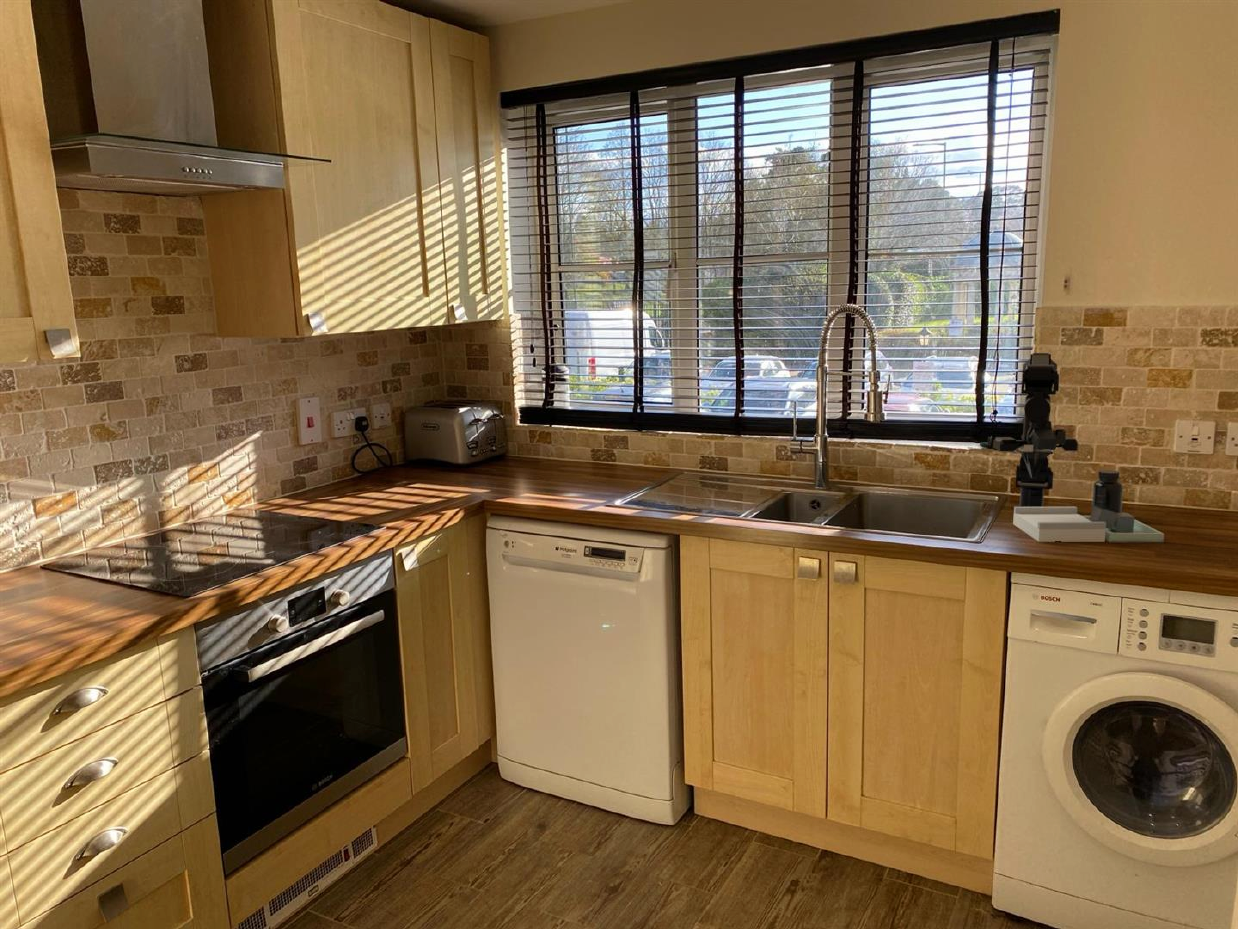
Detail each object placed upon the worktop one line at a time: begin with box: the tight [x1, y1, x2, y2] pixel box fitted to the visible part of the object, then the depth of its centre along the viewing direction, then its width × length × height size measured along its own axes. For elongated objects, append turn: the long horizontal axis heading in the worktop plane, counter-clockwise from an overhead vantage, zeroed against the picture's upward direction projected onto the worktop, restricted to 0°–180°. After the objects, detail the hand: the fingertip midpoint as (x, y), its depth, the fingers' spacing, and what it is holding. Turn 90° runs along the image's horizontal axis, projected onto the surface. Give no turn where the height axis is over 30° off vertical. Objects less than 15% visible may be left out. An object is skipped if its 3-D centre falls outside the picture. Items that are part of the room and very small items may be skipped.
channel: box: [1012, 506, 1106, 543], centre depth 222 cm, size 17×15×4 cm
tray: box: [1082, 515, 1165, 543], centre depth 221 cm, size 18×12×2 cm, turn 176°
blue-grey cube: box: [1089, 506, 1118, 530], centre depth 221 cm, size 4×4×4 cm
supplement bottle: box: [1091, 469, 1124, 513], centre depth 236 cm, size 7×7×12 cm
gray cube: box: [1110, 512, 1135, 533], centre depth 221 cm, size 4×4×4 cm
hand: (1033, 477), depth 228 cm, fingers closed
